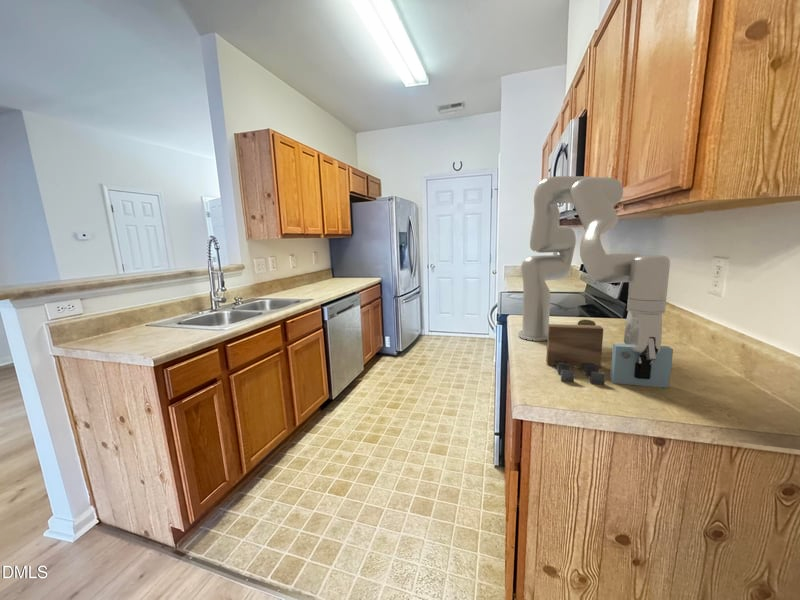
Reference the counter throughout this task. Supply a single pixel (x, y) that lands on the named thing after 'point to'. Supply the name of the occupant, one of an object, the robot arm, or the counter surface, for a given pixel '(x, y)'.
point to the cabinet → (574, 344)
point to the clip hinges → (588, 369)
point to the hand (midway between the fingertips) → (639, 375)
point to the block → (627, 358)
